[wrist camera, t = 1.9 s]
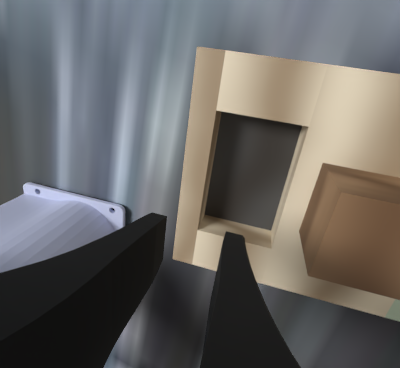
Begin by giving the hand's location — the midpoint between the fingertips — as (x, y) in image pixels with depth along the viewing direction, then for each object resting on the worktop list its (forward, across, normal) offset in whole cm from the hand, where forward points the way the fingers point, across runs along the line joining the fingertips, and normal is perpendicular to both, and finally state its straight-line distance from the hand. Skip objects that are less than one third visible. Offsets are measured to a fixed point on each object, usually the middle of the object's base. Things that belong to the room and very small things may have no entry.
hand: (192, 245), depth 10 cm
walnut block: (+7, -8, 0) cm, 10 cm away
